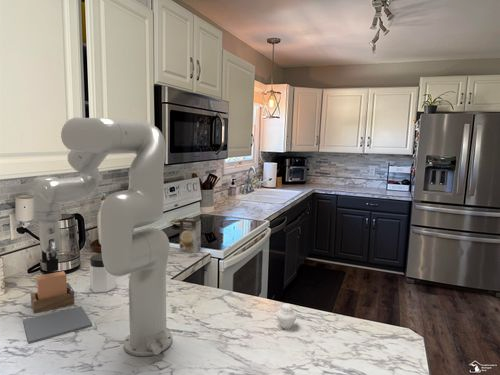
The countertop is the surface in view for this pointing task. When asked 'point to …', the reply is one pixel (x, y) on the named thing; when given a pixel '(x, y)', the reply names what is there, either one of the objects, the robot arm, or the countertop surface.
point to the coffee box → (190, 234)
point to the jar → (100, 276)
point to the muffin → (286, 316)
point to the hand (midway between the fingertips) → (50, 266)
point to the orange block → (51, 285)
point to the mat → (56, 324)
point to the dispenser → (52, 301)
